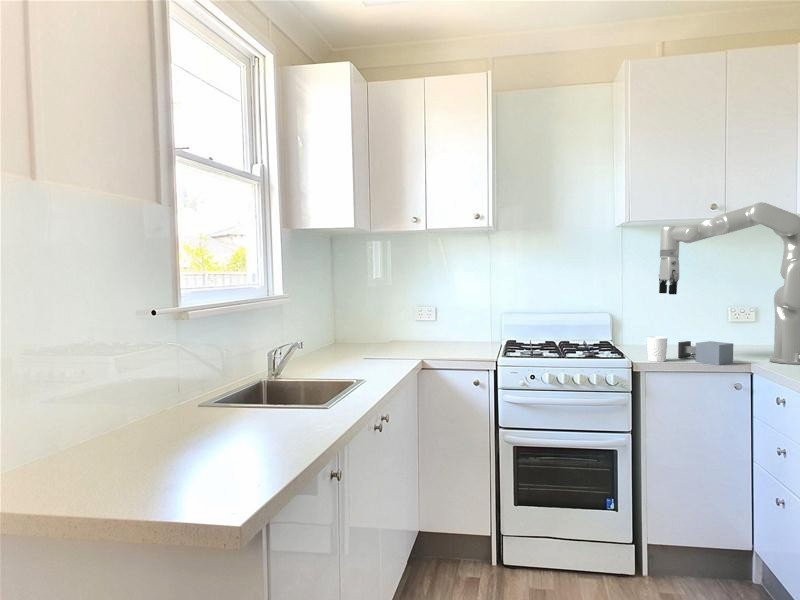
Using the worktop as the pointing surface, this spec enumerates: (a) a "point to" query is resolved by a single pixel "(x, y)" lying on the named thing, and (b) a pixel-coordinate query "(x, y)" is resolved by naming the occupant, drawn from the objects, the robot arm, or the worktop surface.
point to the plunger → (686, 349)
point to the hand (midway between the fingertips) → (667, 293)
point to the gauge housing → (714, 353)
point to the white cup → (657, 348)
